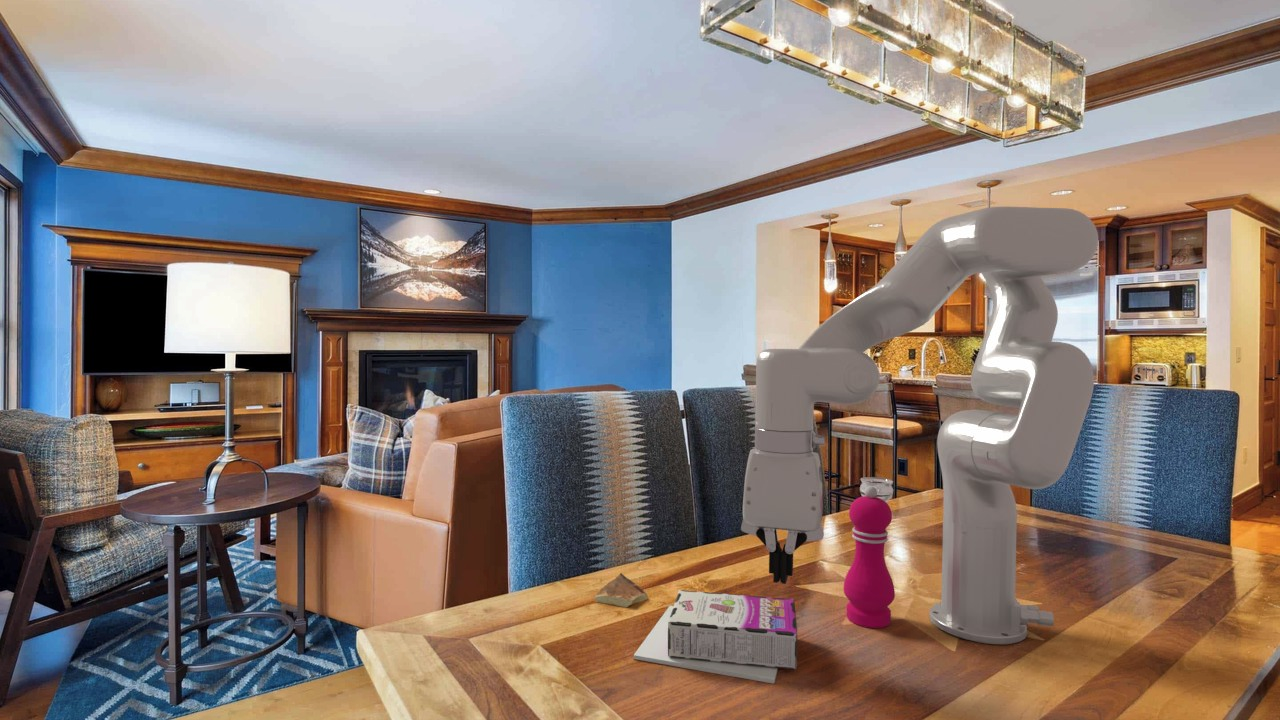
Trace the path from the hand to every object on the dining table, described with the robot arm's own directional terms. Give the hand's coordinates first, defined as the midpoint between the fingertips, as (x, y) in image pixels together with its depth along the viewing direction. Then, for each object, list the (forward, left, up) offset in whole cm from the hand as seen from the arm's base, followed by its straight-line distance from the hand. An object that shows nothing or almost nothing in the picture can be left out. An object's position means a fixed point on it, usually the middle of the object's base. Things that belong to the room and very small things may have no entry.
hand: (780, 579), depth 86 cm
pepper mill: (-11, -15, -10) cm, 21 cm away
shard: (+28, -11, -11) cm, 32 cm away
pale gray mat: (+9, 0, -10) cm, 13 cm away
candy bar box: (-2, 0, -7) cm, 7 cm away
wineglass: (-13, -61, -10) cm, 63 cm away
